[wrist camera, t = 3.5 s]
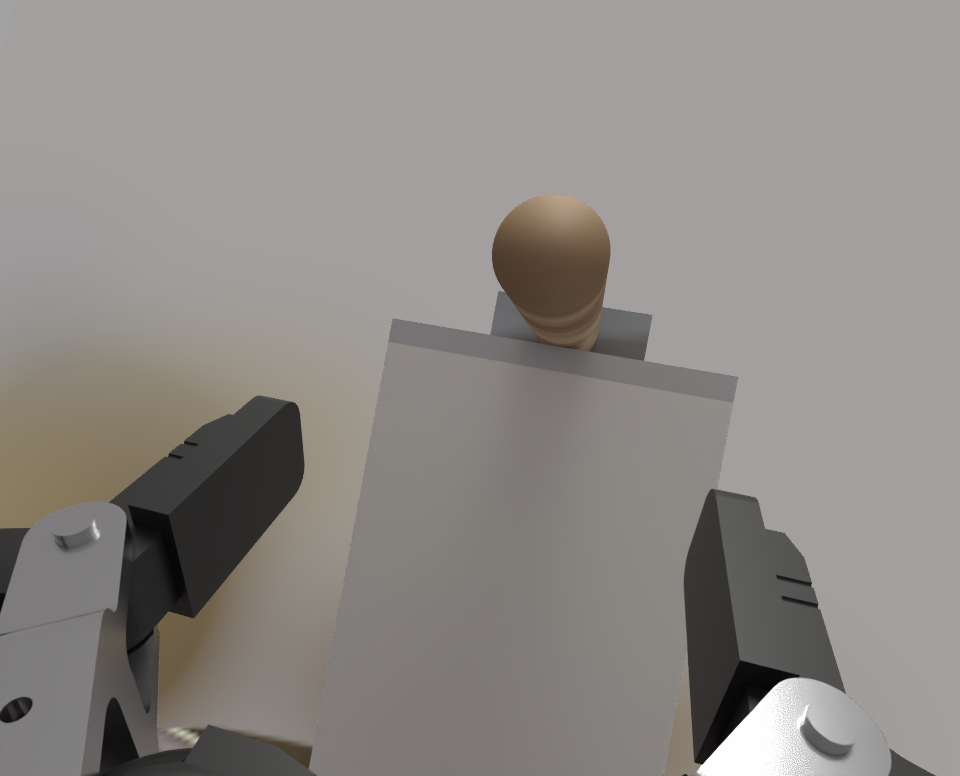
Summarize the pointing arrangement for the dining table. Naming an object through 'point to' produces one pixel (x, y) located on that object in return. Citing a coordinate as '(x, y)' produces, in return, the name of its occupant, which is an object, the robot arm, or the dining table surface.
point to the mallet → (560, 281)
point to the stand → (519, 561)
